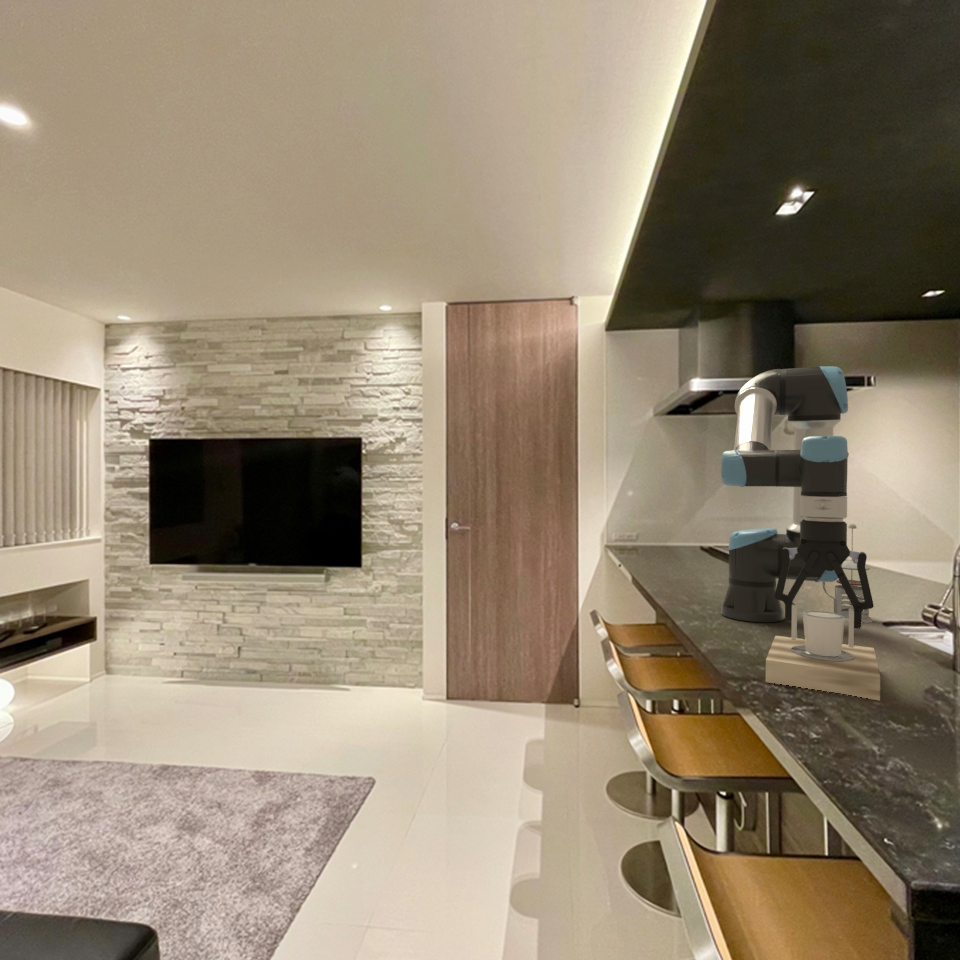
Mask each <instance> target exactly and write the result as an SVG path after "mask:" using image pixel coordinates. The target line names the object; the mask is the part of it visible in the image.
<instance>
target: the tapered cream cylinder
mask: <svg viewBox="0 0 960 960" xmlns="http://www.w3.org/2000/svg"><path fill="white" fill-rule="evenodd" d="M802 620H803V621H802V622H803V633H804V639H805V645H806V651H807V652H809V653H812V654H815V655H821V656H833V657H835V656H840V655H841V650H842V644H843V641H844V630H845V622H846V621H845V617H844V616H842V615H839V614H834V612H827V611H817V610H815V611H803V612H802Z"/></svg>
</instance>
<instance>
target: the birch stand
mask: <svg viewBox="0 0 960 960" xmlns="http://www.w3.org/2000/svg"><path fill="white" fill-rule="evenodd" d="M765 683H768V684H769V683H770V684H774V683H775V685H780V684H782V686H786V685H789V686H788V687H792V686H796V687H795V688H798V687H801V688H800V689H805V688H808V689H807V690H811V689H815V690H814V691H817V690H822V691H821V692H823V691H827V692H826V693H829V692H835V693H841V694H840V695H842V694H847V695H846V696H848V695H852V696H851V697H854V696H857V697H856V698H860V697H862V698H861V699H866V698H868V700H872V701H873V700H874V701H881V673H880V669H879V666H878V661H877V656H876V652H875V649H874V647H869V646H862V645H854V648H851V647H849V644H845V643H842V650H841V655H840V656H835V657H833V656H821V655H815V654H812V653H809V652H807V651H806V645H805V638H804V639H803V638H798V637H797V638H796V640H791V636H790V637H789V636H781V635H775V636H774V639H773V641H772V644H771V646H770V648H769V651H768V653H767V656H766V659H765ZM828 691H829V692H828ZM835 693H834V694H835Z"/></svg>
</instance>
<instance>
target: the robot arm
mask: <svg viewBox="0 0 960 960" xmlns="http://www.w3.org/2000/svg"><path fill="white" fill-rule="evenodd" d="M848 399H849V398H848V391H847V384H846V378H845V374H844V372H843V369H841V368H840V367H839V366H836V365H835V366H827V365H825V366H824V365H819V366H809V367H808V366H807V367H806V366H805V367H794V368H782V369H781V368H777V369H775V368H774V369H771V370H767V371H764V372H761V373H758V374H757V375H755V376H754V377H752V378H750V380H748V381H747V382H745V384H744V385H743V386H742V387H741V388H740V389H739V390H738V392H737V395H736V396H735V401H734V411H735V414H736V415H737V418H736V429H735V437H734V438H735V439H734V445H733V450H725V451H723V453H722V455H721V459H720V460H721V461H720V463H721V464H720V466H721V467H720V468H721V469H720V470H721V471H720V473H721V474H720V475H721V482H722V484H724V485H726V486H730V487H731V486H732V487H740V488H745V487H776V488H777V487H780V488H781V487H783V488H784V487H785V488H787V487H788V488H793V496H792V497H793V499H792V500H793V504H792V505H793V507H792V509H793V511H792V513H793V514H792V522H790V523H789V524H788V525H787V526H786V532H785V533H779V532H778V530H777V529H776V528H775V527H769V528H765V527H764V528H761V527H760V528H752V529H741V530H736V531H733V532H732V533H730V536H729V541H728V547H727V551H728V585H727V589H726V591H725V594H724V597H723V600H722V603H721V605H720V606H721V607H720V609H721V610H720V614H721V615H722V616H724V617H726V618H730V619H733V620H738V621H739V620H740V621H745V622H753V623H776V622H782V621H783V620H784V619H785V621H788V622H791V636H790V637H791V640H796V638H798V628H797V627H798V603H797V602H794V600H795V598H796V596H797V594H798V592H799V591H800V589H801V587H802V585H803V583H804V582H805V581H807V582H815V583H820V582H821V583H823V582H825V583H826V582H827V583H832V582H833V583H834V582H836V581H837V580H840V582H841V584H840V585H842V586H843V588H844V590H845V592H846V594H845V595H846V596H848V598H849V599H848V601H850V602H851V604H852V607H853V609H851V608H849V622H848V641H847V642H848V644H847V645H849V647H851V648H854V646H855V645H854V641H855V637H854V636H855V629H858V630H860V629H861V628H862V623H861V614H862V611H864V610H865V609H869V610H870V609H873V608H874V601H873V596H872V592H871V591H872V590H871V587H870V583H869V579H868V574H867V570H866V569H865V565H867V564H866V563H867V553H866V552H864V551H860V552H858V551H854V550H853V551H852V550H850V549H849V547H848V544H847V543H848V541H847V540H848V534H847V533H848V523H847V522H846V521H844V519H846V518H848V493H847V492H848V490H847V489H848V462H849V461H848V460H849V455H850V454H849V451H848V450H849V449H848V439H847V438H846V437H844V436H841V435H834V428H835V426H836V425H838V423H840V422H841V418H842V417H841V416H842V415H844V414H846V413H847V412H848V411H849V404H848V401H849V400H848ZM841 414H842V415H841ZM773 416H787V423H788V424H789V425H790V426H791V427H793V430H794V432H793V433H794V435H793V437H794V439H793V449H786V450H785V449H782V450H781V449H776V450H774V449H773V450H772V434H773V433H772V431H773V429H772V427H773V423H772V422H773ZM848 558H851V560H852V561H853V563H855V564H857V569H858V570H857V574H858V578H859V581H860V583H861V586H860V587H862V592H863V596H864V600H862V602H859V600H858V598H857V595H856V594H855V592H854V590H853V588H852V586H851V584H850V583H849V581H848V580H849V579H848V577H847V575H846V573H845V571H844V569H842V564H843V562H844V561H847V559H848ZM777 579H778V580H777ZM787 580H793V581H794V580H795V581H794V582H793V584H792V587H791V588H790V590H789V591H788V593H787V594H785V593H784V589H785V586H786V581H787ZM782 602H783V604H784V608H783V605H782Z"/></svg>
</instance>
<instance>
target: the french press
mask: <svg viewBox="0 0 960 960" xmlns="http://www.w3.org/2000/svg"><path fill="white" fill-rule="evenodd" d="M848 529H851V551H854V550H853V549H854V548H853V545H854V544H853V542H854V541H853V540H854V538H853V537H854V536H853V532H854V531H853V529H855V530H857V524H854V523H851V524H848ZM842 569H843V570H850V571H851V577H850V579H848V581H849V583H850V584H851V586H852V588H853V590H854V592H855V594H856V596H857V598H858V600H859V602H862V601H864V596H863V592H862V587H861V583H860V580H857V579H856V580H855V579H853V571H858V569H857V564H855V563H853V561H852V559H850V560H845V561H844V562H843V564H842ZM865 569H866V571H869V570H870V569H871V567H870V566H869V565H867V564H865ZM835 582H836V583H838V584H839V585H838V584H837V585H834V596H832V595H831V594H829V593H828V591H827V589H826V586H825V585H826V582H822V588H823V591H824V593H825V594H826V595H827V596H828V597H830V598H832V599H833V613H834V614H839V615H842V616H844V617H845V622H847V621H849V608H851V609H853V606H852V604H851V602H850V600H849V598H848V596H847V594H846V592H845V590H844V588H843V586H842V584H841V582H840V580H839V579H837V580H835ZM842 595H843V596H842ZM844 595H845V596H844ZM846 604H847V605H846ZM869 615H870V609H865V610H863V611H862V614H861V622H871V623H873V622H874V620H873V618H872V617H870V616H869ZM872 621H873V622H872Z"/></svg>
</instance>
